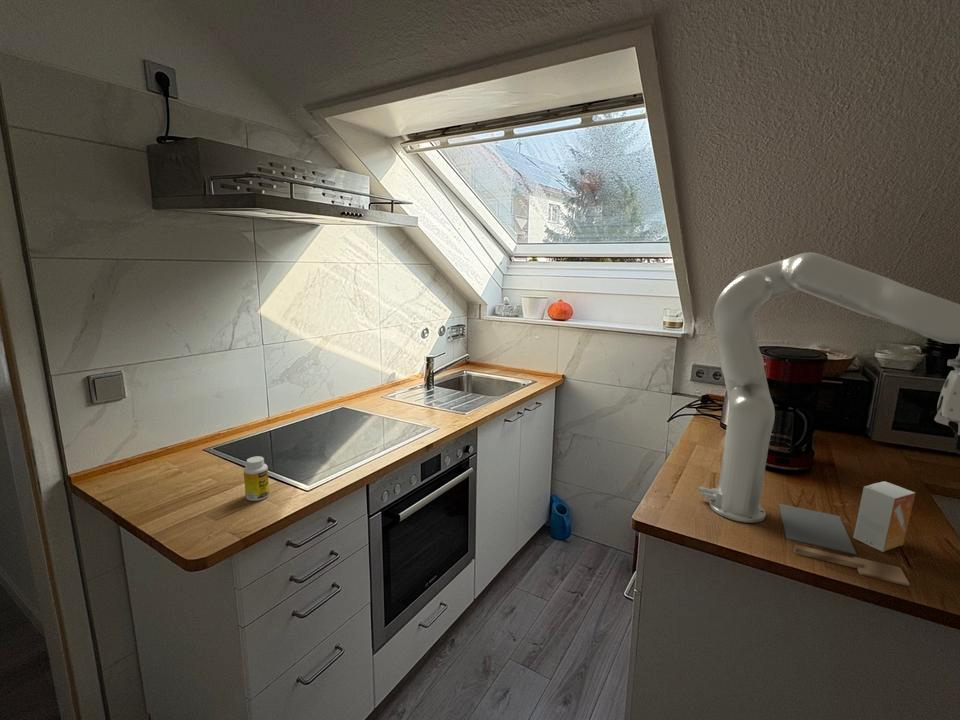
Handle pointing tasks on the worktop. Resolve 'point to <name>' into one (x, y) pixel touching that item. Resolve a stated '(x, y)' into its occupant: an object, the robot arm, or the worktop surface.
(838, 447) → the worktop surface
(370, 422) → the worktop surface
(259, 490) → the supplement bottle
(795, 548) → the light wooden turner
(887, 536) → the small box
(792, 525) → the mat
